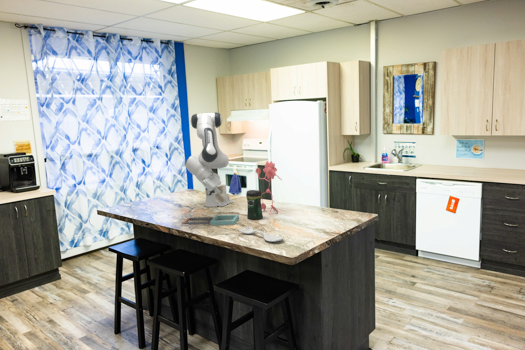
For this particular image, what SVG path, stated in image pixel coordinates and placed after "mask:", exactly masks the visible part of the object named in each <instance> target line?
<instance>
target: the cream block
mask: <svg viewBox="0 0 525 350" xmlns="http://www.w3.org/2000/svg"><path fill="white" fill-rule="evenodd" d="M216 187H217V189H219V190H220V191H221V193H220V194H218V193H217V192H216V191H215V200H216V202H225V201H227V195H226V193H227V184H220V185H218V186H216Z"/></svg>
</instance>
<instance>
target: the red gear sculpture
mask: <svg viewBox="0 0 525 350" xmlns="http://www.w3.org/2000/svg"><path fill="white" fill-rule="evenodd" d="M275 165H276V164H275V163H273V161H270V162H269V161H267V160H266V162H265V164H264V168H263V169H262V170H261V168H260V167H257V168H256V170H255V173H256V174H257V175H258V179H259V180H265V181H267V182H268V188H267V189H266V191H265V192H262V193H261V195H264V194H265V193H267V194H270V195H271V203H272V204H270V206H271V207H270V208H267V205H266V203H264V200H263V197H262V196H261V207H262V211H266V209H270V210H269V215H271V213H272V210H273V211H274V212H276V213H279V212H278V208H276V207H275V206H274V205H273V204H274V203H273V202H274V199H273V197H274V196H273V194H272V192H271V189H270V187H271V180H274V178H275V177H277V178H278V179H279V180H281V178H280V176H279V175H277V173H276V172H278V169H277V167H276V166H275ZM262 171H263V173H264V175H265V176H264V177H262V178H261V177H260V175H261V173H262ZM266 177H267V178H266ZM279 210H280V211H282V209H280V208H279Z"/></svg>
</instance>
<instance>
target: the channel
mask: <svg viewBox="0 0 525 350" xmlns="http://www.w3.org/2000/svg"><path fill="white" fill-rule="evenodd" d="M214 217H215V216H213V217H211V216H210V217H207V216H206V217H205V216H204V217H187V218H185V220H183V221H182V222H181V225H182V224H209V225H211V224H210V221H211V220H212V219H213V218H214ZM189 220H190V221H189Z"/></svg>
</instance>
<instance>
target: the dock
mask: <svg viewBox="0 0 525 350" xmlns="http://www.w3.org/2000/svg"><path fill="white" fill-rule="evenodd" d="M213 217H214V218H213V219H212V220H209V223H210V224H209V225H210V226H235V224H236V223H237V222H238V221H239V219H240V215H239V214H219V215H218V214H215V216H213Z"/></svg>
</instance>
